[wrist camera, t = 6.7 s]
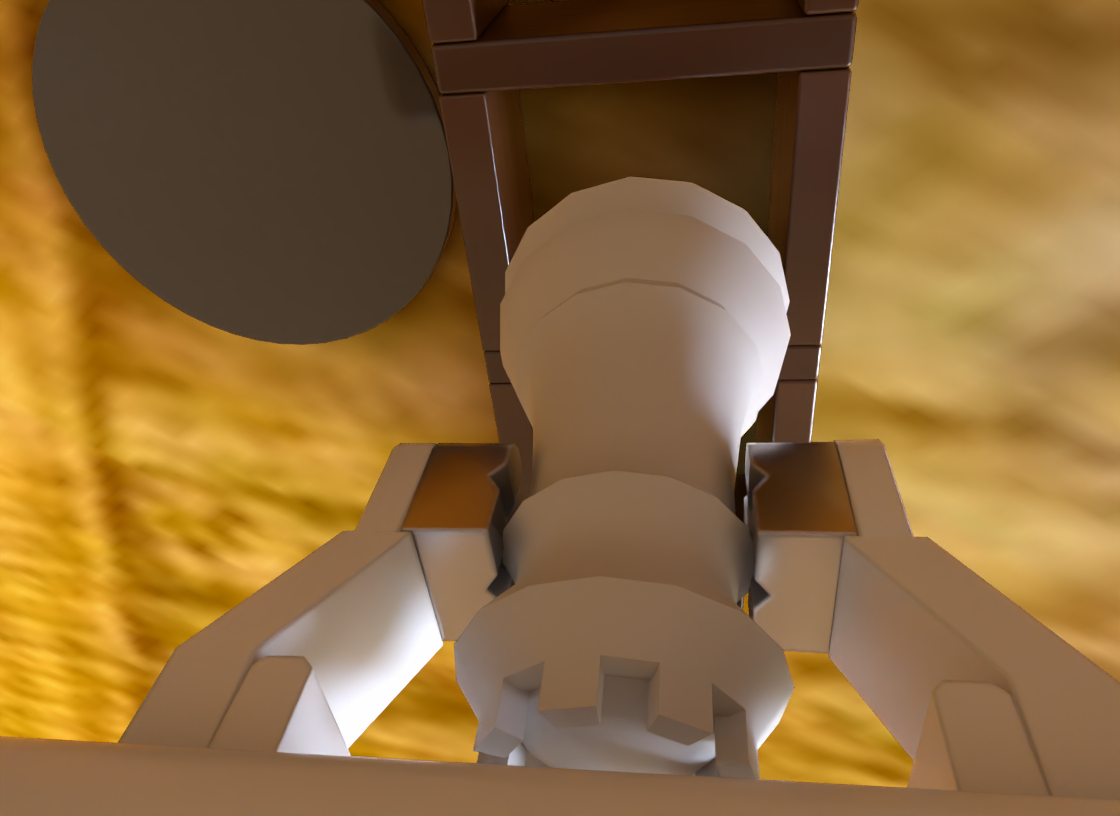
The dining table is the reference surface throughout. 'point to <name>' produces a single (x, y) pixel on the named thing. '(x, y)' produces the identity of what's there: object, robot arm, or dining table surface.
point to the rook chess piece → (633, 491)
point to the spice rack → (635, 56)
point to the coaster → (250, 156)
